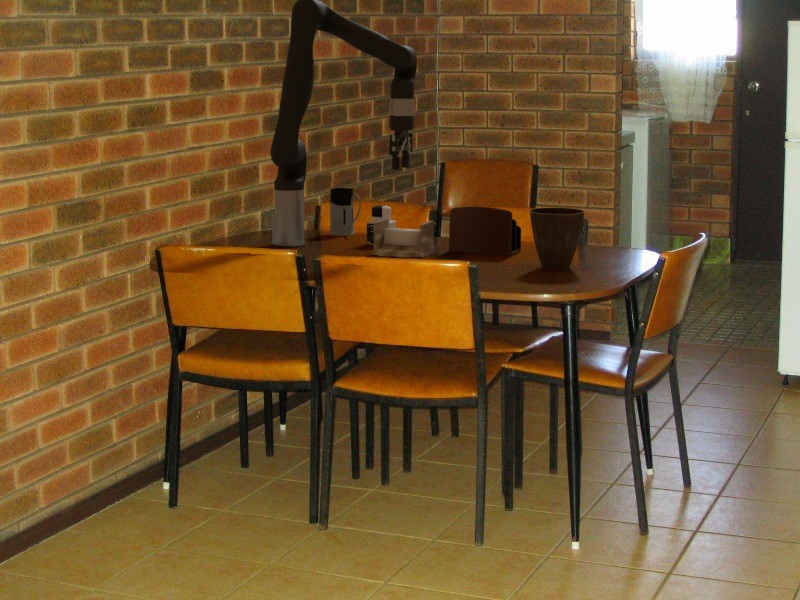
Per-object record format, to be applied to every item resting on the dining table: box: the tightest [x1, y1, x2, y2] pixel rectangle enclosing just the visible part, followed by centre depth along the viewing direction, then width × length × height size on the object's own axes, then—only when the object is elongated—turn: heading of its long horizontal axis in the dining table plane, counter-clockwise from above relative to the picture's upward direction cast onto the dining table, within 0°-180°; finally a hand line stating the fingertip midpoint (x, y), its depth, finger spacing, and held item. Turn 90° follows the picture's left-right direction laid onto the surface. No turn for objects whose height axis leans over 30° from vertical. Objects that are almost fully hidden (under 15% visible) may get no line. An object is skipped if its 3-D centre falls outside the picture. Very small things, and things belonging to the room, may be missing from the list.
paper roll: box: [384, 227, 420, 247], centre depth 359 cm, size 11×6×6 cm, turn 71°
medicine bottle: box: [366, 204, 397, 246], centre depth 379 cm, size 7×7×12 cm
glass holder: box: [328, 187, 362, 237], centre depth 398 cm, size 9×14×15 cm, turn 40°
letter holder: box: [448, 206, 522, 256], centre depth 364 cm, size 10×20×14 cm, turn 66°
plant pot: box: [529, 207, 586, 271], centre depth 333 cm, size 15×15×16 cm
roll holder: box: [371, 219, 436, 258], centre depth 359 cm, size 15×14×10 cm
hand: (400, 168), depth 363 cm, fingers open, 8 cm apart
